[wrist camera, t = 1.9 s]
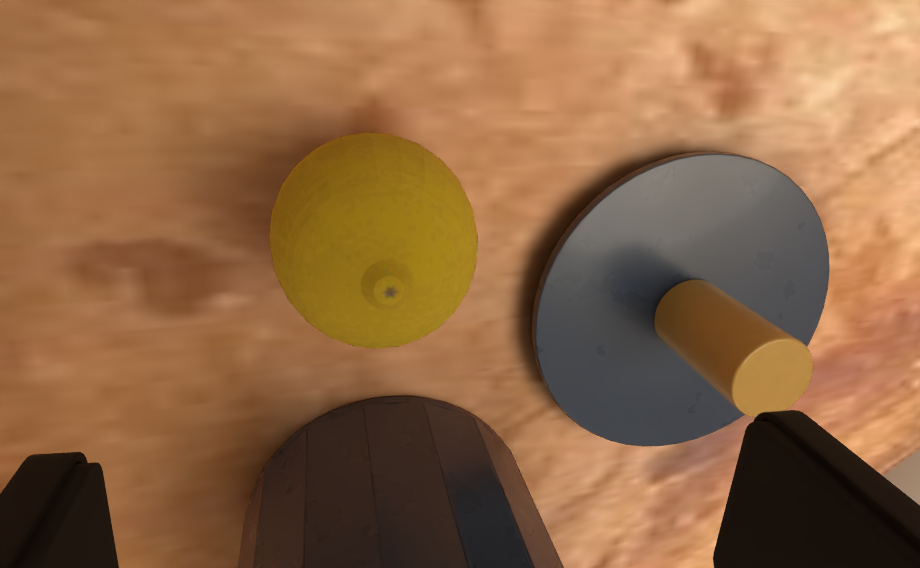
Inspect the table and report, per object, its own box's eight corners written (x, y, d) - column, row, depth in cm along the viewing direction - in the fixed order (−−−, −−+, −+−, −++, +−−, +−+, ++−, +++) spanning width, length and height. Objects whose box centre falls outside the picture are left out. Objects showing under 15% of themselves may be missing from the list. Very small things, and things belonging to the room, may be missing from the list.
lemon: (294, 289, 22) (282, 420, 14) (264, 124, 20) (232, 181, 12) (452, 267, 23) (516, 381, 15) (440, 107, 20) (508, 150, 13)
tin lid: (543, 144, 22) (621, 184, 16) (844, 151, 24) (1001, 188, 19) (513, 441, 26) (566, 553, 20) (771, 421, 28) (881, 516, 23)
